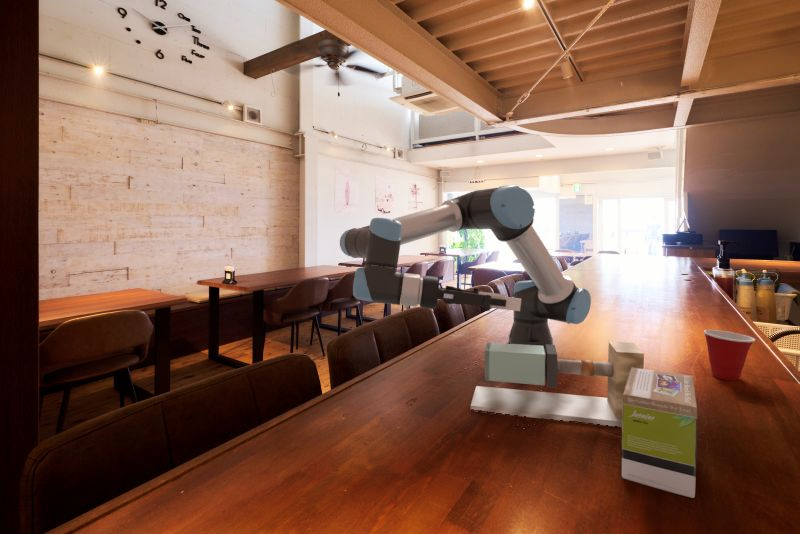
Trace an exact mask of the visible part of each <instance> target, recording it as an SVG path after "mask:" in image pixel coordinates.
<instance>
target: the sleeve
mask: <svg viewBox="0 0 800 534" xmlns="http://www.w3.org/2000/svg"><path fill="white" fill-rule="evenodd" d="M484 381H490V382H502V383H511V384H512V383H514V384H521V385H522V384H525V385H535V386H545V385H546V384H545V382H546V377H545V349H544V347H543V346H539V345H522V344H509V343H504V342H503V343H501V342H487V343H486V345H485V349H484Z"/></svg>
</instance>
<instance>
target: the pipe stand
mask: <svg viewBox="0 0 800 534" xmlns="http://www.w3.org/2000/svg"><path fill="white" fill-rule="evenodd" d="M607 359H608V361H607V362H606V361H605V362H604V361H594V360H591V359H590V360H589V359H580V360H578V359H577V360H576V359H575V360H574V359H564V358H563V359H561V358H560V359H559V358H557V374H569V375H572V374H573V375H581V376H583V377H584V376H585V377H595V376H597V377H607V393H606V394H607V397H602V396H601V397H600V396H592V395H591V396H590V395H578V394H569V393H557V392H546V391H536V390H525V389H514V388H513V389H512V388H504V387H503V388H501V387H490V386H481V385H480V386H479V385H476V387H475V390H474V392H473V396H472V400H471V403H470V410H471V409H474V410H482V411H488V412H495V413H494V414H496V413H502V414H501V415H505V414H510V415H509V416H514V415H518V416H517V417H524V416H526V418H535V419H542V418H543V420H551V419H553V421H560V420H563V421H562V422H569V421H578V422H586V423H585V424H588V423H593V424H592V425H597V424H600V425H599V426H606V425H608V427H615V426H617V427H616V428H622V399H623V393H624V389H625V386H626V383H627V380H628V377H629V373H630V370H631V368H632V367H633V368H639V369H645V353H644V351H642V350H641V349H640V347H638V346H637V345H636V344H635V342H626V341H625V342H620V341H608V358H607ZM545 372H547V358H545ZM578 422H577V423H578Z"/></svg>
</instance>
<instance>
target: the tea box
mask: <svg viewBox="0 0 800 534" xmlns="http://www.w3.org/2000/svg"><path fill="white" fill-rule="evenodd" d="M697 442H698V405H697V398H696V389H695V381H694V376H693V375H690V374H689V375H688V374H683V373H675V372H667V371H660V370H652V369H645V368H644V369H639V368H633V367H632V368H631V370H630V373H629V377H628V380H627V383H626V386H625V389H624V393H623V399H622V427H621V477H622V479H624V480H627V481H630V482H633V483H634V482H635V483H638V484H641V485H645V486H648V487H651V488H655V489H659V490H662V491H666V492H668V493H672V494H676V495H679V496H683V497H688V498H690V499H694V498H695V496H696V480H697V479H696V475H697V474H696V473H697V446H698V445H697V444H698V443H697Z"/></svg>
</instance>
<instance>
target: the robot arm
mask: <svg viewBox="0 0 800 534" xmlns="http://www.w3.org/2000/svg"><path fill="white" fill-rule="evenodd" d="M534 206H535V203H534V200H533V197H532V195H531V194H530V193H529V191H528V190H526V189H525V188H523V187H522V186H518V185H501V186H499V187H493V188H485V189H478V190H474V191H470V192H467V193H465V194H462V195H460V196H457V197H453V198H451V199H447V200H444V202H442V203H441V204H440V205H439V206H435V207H430V208H428V209H425V210H420V211H417V212H413V213H409V214H406V215H403V216H398V217H395V218H386V217H374V218H372V219H371V220H370V224H369V225H367V226H362V227H358V228H357V227H354V228H350V229H347V230H345V231H344V232H343V233H342V234H341V236H340V239H339V247H340V250H341V251H342V253H343V254H344V255H345V256H347V257H351V258H352V259H353V258H354V259H357V258H359V259H365V265H364V267H359V268H357V269H356V270H355V274H354V279H353V284H352V293H353V294H352V295H353V297H354V298H355V299H356V300H358V301H359V300H360V301H366V302H371V303H378V304H385V305H386V304H387V305H396V306H397V305H398V306H403V308H405V309H406V310H407V309H408V308H409V307H414V308H417V307H418V305H419V307H420V308H422V309H429V310H435V309H436V308H437V305H438V300H441V301H443V303H445V304H446V305H447V304H448V305H453V304H454V305H467V306H468V305H469V306H474V307H481V308H484V309H485V311H487V312H488V311H489V312H490V311H491V310H490V309H497V310H507V311H513V322H512V325H511V329H510V331H509V334H508V344H509V343H510V344H522V345H539V346H543V347H544V350H545V344H549V345H554V338H553V337H552V333H551V330H550V326H549V322H548V321H549V320H552V321H557V322H559V323H560V322H562V323H566V324H568V325H569V324H573V325H578V324H579V325H580V324H581V323H583V322H584V321H585V320H586V319H587V316H588V315H589V312H590V310H591V304H592V296H591V293H590V291H589V290H588V289H586V288H584V287H577V285H576V284H575V283H574V281H573V279H572V278H570V277H569V276H568V275H563V273H562V271H561V269H560V268H559V267H558V265H557V264H556V262H555V260H554V258H553V257H552V255H551V254H550V252H549V251H548V249H547V248H546V246H545V244H544V243H543V241H542V240H541V238H540V236H539V235H538V233H537V232H536V230H535V228H534V226H533V224H534V221H535V220H534V219H535V218H534V217H535V213H536V211H535V210H536V209H535V207H534ZM462 230H490V231H491V232H492V233H493V235H494V236H495V237H496V239H497V240H498V241H499V242H504V243H506V244H507V246H508V247H509V248H510V250H511V252H512V253H513V254H514V256H515V257H516V259H517V260H518V262H519V263H520V264H521V267H522V268H523V269H524V271H525V272H526V273H527V275H528V276H529V278H530V279H531V280H530V279H529V280H521V281H520V280H519V281H516V282H515V283H514V285H513V295H512V296H511V297H510V296H506V294H504V293H495V292H486V291H479V288H473V290H471V289H470V290H469V289H468V290H467V289H462V288H460V287H455V286H451V285H445V287H442V286H440V278H439V277H438V276H432V275H424V276H423V277H422V276H421V274H417V273H408V272H398V264H399V258H400V257H399V256H400V252H401V251H400V249H401V246H402V245H406V244H410V243H412V242H415V241H419V240H421V239H424V238H428V237H431V236H434V235H437V234H441V233H444V232H447V231H449V232H451V233H455V232H458V231H462Z"/></svg>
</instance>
